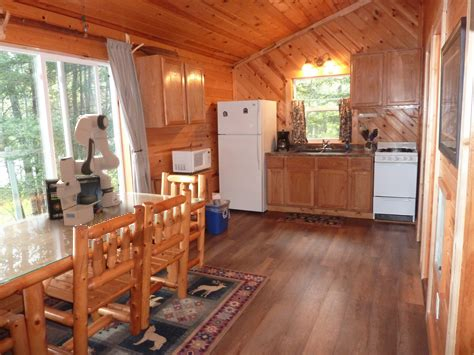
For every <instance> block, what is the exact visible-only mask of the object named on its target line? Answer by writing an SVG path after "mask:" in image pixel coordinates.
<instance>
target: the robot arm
mask: <svg viewBox="0 0 474 355" xmlns="http://www.w3.org/2000/svg"><path fill="white" fill-rule="evenodd" d="M108 125H109V119H108V117H107V116H106V115H105V114H98V113H97V114H94V113H93V114H82V115H79V116H77V118H76V125H75V129H74V132H73V139H74V141H75V142H76V143H77V144H79V145H80V146H83V147H84V148H85V149H86V151H85V152H86V153H85V158H84V160H83V159H80V160H79V159H74V157H73V156H71V155H68V156H67V155H66V156H63V157H61V158H60V159H59V164H58V165H59V173H60V178H61V180H60V181H59V182H57V183H56V187H57V197H58V198H59V199H62V200H63V201H64V204H68V201H67V200H66V199H67V198H66V197H69V196H72V195H74V198H73V201H76V200H77V193H80V192H81V188H80V184H79V181H78V180H77V179H76V177H77V175H79V176H91V175H99V176H100V181H101V195H102V208H108V207H116V206H118V205H119V204H120V203H122V199H119V195H118V193H116V192H114V189H115V186H114V185H113V186H112V179H111V176H110V175H109V174H106V173H104V172H103V171H105V170H106V171H107V170H109V171H110V170H115V169H118V167H119V166H120V163H121V161H120V158H119V157H118V156H117V155H115V154H114V152H112V151H111V150H110V147H109V142H108V141H109V139H108V133H107V128H108ZM95 152H98V153H100V154H101V155H95Z"/></svg>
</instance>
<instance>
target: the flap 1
mask: <svg viewBox="0 0 474 355" xmlns="http://www.w3.org/2000/svg"><path fill="white" fill-rule="evenodd" d="M66 198H67V199H66V200H67V201H68V204H64V201H63V200H62V199H61V206H62V210H64V209H67V208H69V207H72V206H74V205H76V204H77V201H73V198H74V195H72V196H69V197H66Z"/></svg>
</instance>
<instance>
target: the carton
mask: <svg viewBox="0 0 474 355" xmlns="http://www.w3.org/2000/svg"><path fill="white" fill-rule="evenodd" d="M86 206H88V205H76V206H74V207H71V208H69V209H66V210H64V211H63V217H64V218H63V225H64V227H76V226H75V225H80V224H84V225H86V224H89V223H90V222H92V221H94V219H95V217H94V216H95V215H94V214H95V213H94V214H93V206H91V207H88V208H86V209H84V210H82V211H80V210H81V209H83V208H84V207H86Z"/></svg>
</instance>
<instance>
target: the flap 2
mask: <svg viewBox="0 0 474 355" xmlns="http://www.w3.org/2000/svg"><path fill="white" fill-rule="evenodd" d="M99 201H101V200H99ZM99 201H97V202H94V203H92V204H90V205H88V206H86V207H84V208H83V209H81V210H80V211H82V210H84V209H86V208H88V207H91V206H93V205H94V204H96V203H98V202H99Z"/></svg>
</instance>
